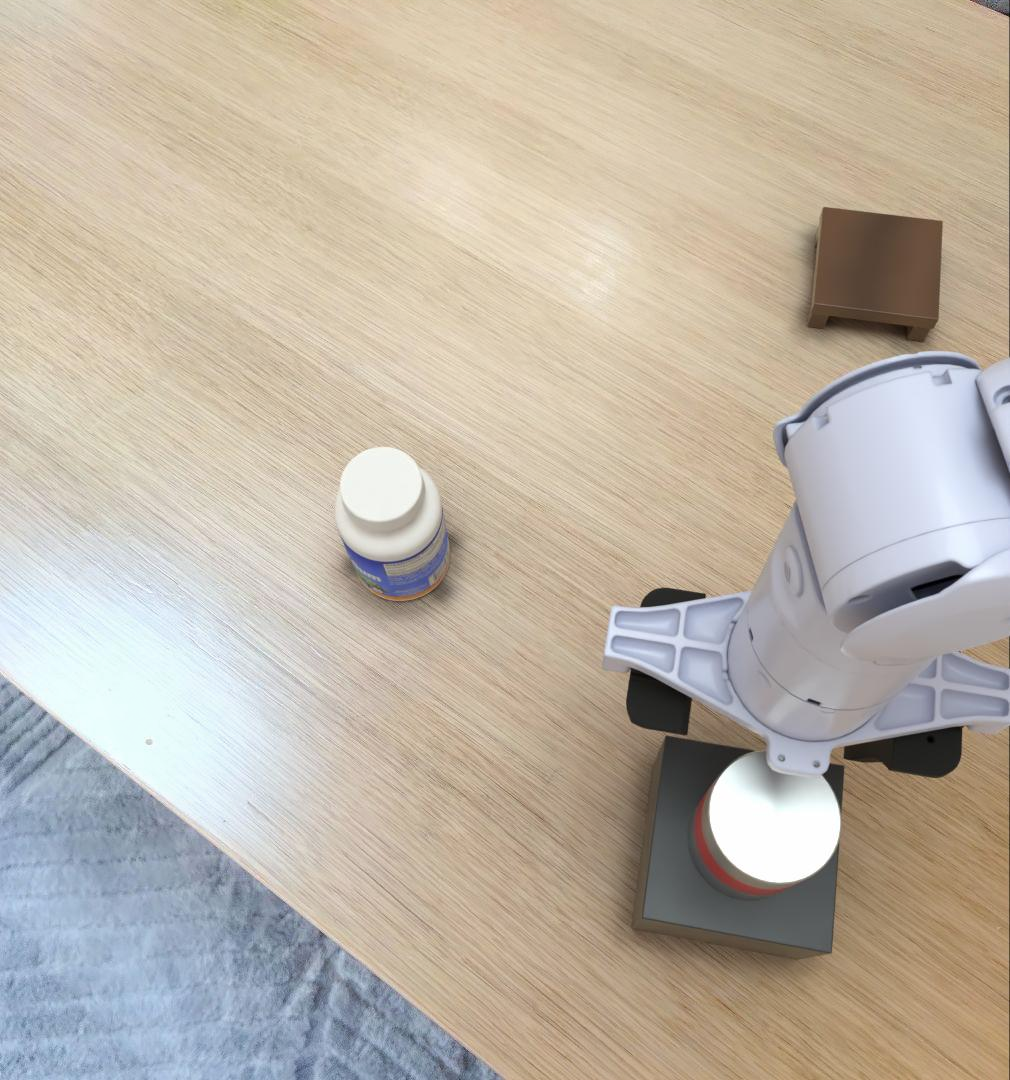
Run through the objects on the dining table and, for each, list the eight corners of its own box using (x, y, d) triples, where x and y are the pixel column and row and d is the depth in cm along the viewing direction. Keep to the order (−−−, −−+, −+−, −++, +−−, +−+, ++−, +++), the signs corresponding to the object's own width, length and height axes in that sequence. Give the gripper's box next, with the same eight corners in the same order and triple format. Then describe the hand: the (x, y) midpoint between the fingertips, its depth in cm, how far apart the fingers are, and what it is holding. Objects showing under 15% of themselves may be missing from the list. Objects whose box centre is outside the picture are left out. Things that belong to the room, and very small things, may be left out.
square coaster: (811, 792, 56) (845, 765, 50) (798, 960, 53) (832, 954, 47) (652, 765, 57) (665, 734, 51) (631, 928, 54) (641, 918, 48)
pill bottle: (339, 539, 63) (303, 461, 54) (426, 497, 63) (405, 414, 54) (380, 621, 61) (350, 554, 52) (469, 577, 61) (455, 504, 52)
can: (808, 792, 49) (847, 761, 43) (799, 910, 48) (838, 896, 41) (694, 772, 50) (715, 738, 44) (680, 889, 48) (700, 871, 42)
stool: (930, 246, 68) (943, 220, 66) (925, 343, 66) (938, 319, 64) (814, 232, 69) (823, 206, 67) (805, 328, 67) (814, 303, 64)
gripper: (594, 705, 36) (583, 783, 48) (1069, 786, 34) (929, 845, 47) (626, 505, 38) (608, 628, 51) (1068, 571, 37) (936, 682, 49)
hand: (763, 721), depth 49 cm, fingers open, 7 cm apart
